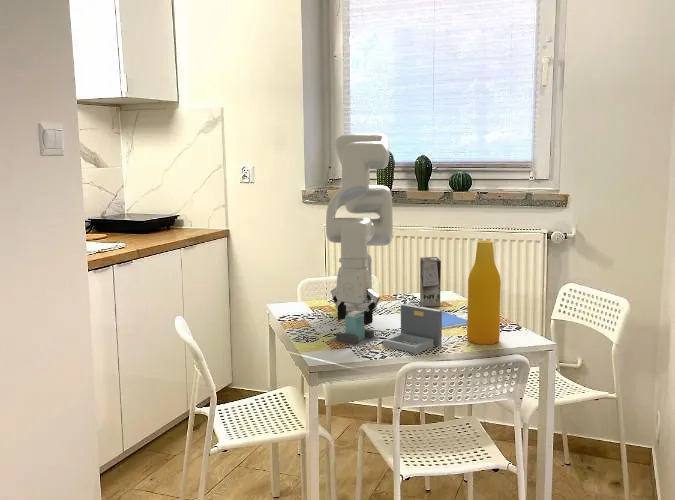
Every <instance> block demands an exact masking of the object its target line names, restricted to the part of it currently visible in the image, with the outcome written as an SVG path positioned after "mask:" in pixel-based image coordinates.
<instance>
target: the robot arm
mask: <svg viewBox="0 0 675 500" xmlns="http://www.w3.org/2000/svg"><path fill="white" fill-rule="evenodd" d="M335 150H336V153H337V157H338V160H339V161H340V164H341V187H340V188H339V190H337V191H336V192H335V193H334V194H333V196H331V199H330V200H329V203H328V204H327V208H326V215H325V235H326V237H327V240H328V241H329V242H330V243H332V244H333V243H334V244H339V243H340V258H339V259H338V262H339V263H340V264H341V265H340V266H341V267H340V266H339V268H338V271H337V277H336V287H335V288H332V289H331V290H330V294H331V297H332V300H333V302H334V303H335V306H336V307H337V320H338V321H341V320H345V316H347V313H349V312H352V311H360V312H361V313H363V315H364V324H365V326H368V325H370V324H373V318H374V317H373V313H374V312H373V311H375V310H377V306H378V304H379V301H380V299H381V296H380V295H379V294H377V293H376V292H374V291H373V263H372V262H373V260H372V256H371V254H370V253H369V251H368V247H369V246H371V247H373V246H376V247H377V246H378V247H379V246H389V245H390V244H392V243H391V242H392V240H393V233H394V232H393V229H394V228H393V227H394V226H393V224H394V223H393V197H392V192H391V189H390V188H389V187H388V186H385V185H372V184H371V183H370V180H371V179H370V178H371V172H370V170H383V169H386V168H387V166H388V165H389V163H390V162H389V161H390V143H389V138H388V137H387V135H386V134H384V133H351V134H350V133H348V134H342V135H339V136H338V137H336V140H335ZM343 205H344V206H345V209H346V211H347V213H350V214H354V215H356V214H357V215H358V214H361V215H364V214H365V215H370V214H371V215H372V214H374V215H378V216H379V217H336V215H337V211H338V210H339V209H340V208H341V207H342V206H343Z"/></svg>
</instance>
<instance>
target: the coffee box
mask: <svg viewBox="0 0 675 500" xmlns="http://www.w3.org/2000/svg"><path fill="white" fill-rule="evenodd" d="M419 259H420V261H419V266H420V267H419V268H420V269H419V276H420V277H419V291H420V293H419V295H420V296H419V297H420V299H419V300H420V303H421V305H422V307H440V306H441V275H442V274H441V270H442V265H441V264H442V260H441V259H439V257H437V256H426V257H423V256H422V257H420V258H419Z"/></svg>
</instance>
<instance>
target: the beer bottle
mask: <svg viewBox="0 0 675 500" xmlns="http://www.w3.org/2000/svg"><path fill="white" fill-rule="evenodd" d="M475 251H476V252H475V259H474V263H473V266H472V268H471V269H470V271H469V275H468V278H467V319H466V320H467V325H466V326H467V327H466V338H467V340H468V342H470V343H473V344H477V345H494V344H496V342H497V343H498V342H499V339H500V332H501V329H500V327H501V325H500V324H501V322H500V319H501V288H502V287H501V285H502V282H501V276H500V272H499V270H498V267H497V266H496V262H495V255H494V253H495V252H494V242H493V241H492V240H478V241H477V244H476V250H475Z"/></svg>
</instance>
